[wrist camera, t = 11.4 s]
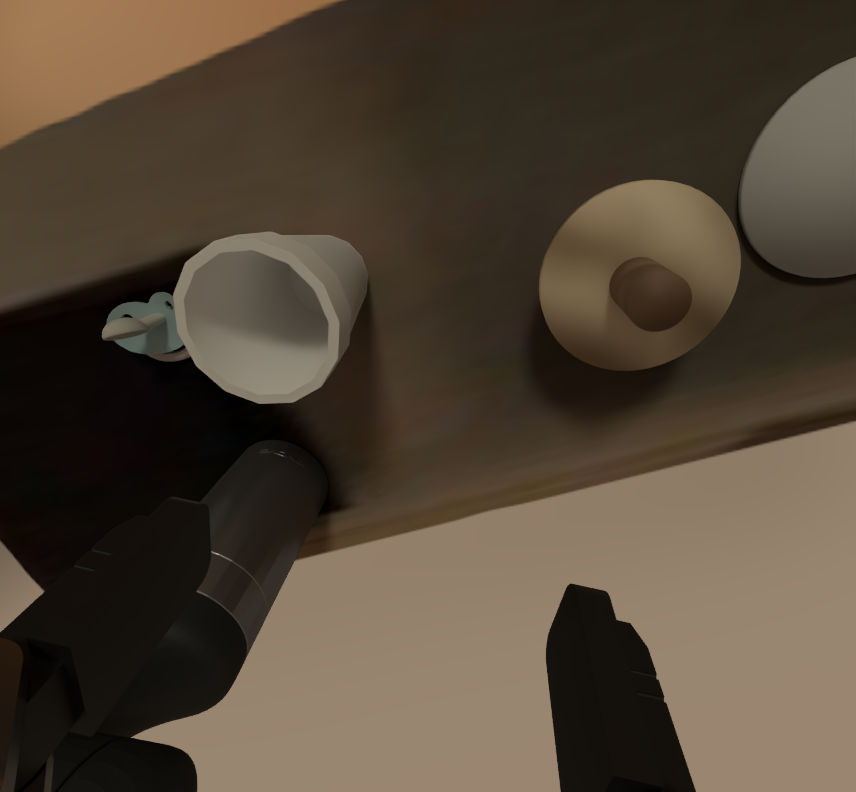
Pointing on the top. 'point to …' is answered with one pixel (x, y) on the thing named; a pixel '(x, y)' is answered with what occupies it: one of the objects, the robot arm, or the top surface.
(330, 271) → the foam cup
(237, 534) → the robot arm
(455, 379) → the top surface
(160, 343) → the pacifier
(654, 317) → the lid
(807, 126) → the mat
